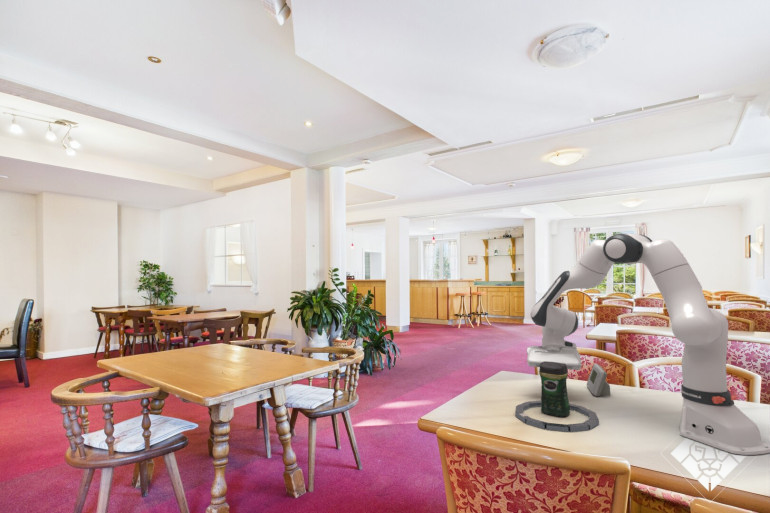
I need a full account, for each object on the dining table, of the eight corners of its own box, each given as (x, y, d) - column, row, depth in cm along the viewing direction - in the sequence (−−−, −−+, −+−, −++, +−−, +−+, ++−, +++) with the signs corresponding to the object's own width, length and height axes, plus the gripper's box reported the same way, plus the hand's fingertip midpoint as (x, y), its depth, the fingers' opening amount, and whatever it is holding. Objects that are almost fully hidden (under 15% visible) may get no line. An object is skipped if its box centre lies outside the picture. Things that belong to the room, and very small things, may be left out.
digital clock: (586, 386, 179) (585, 362, 180) (609, 388, 175) (608, 364, 176) (585, 396, 165) (584, 370, 166) (610, 399, 161) (609, 372, 161)
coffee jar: (572, 413, 146) (570, 361, 147) (565, 419, 140) (563, 365, 141) (546, 407, 153) (543, 358, 154) (538, 413, 147) (535, 362, 148)
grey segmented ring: (616, 427, 132) (616, 422, 132) (541, 435, 127) (541, 429, 127) (566, 402, 158) (566, 397, 158) (502, 407, 154) (502, 403, 154)
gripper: (526, 341, 169) (525, 370, 160) (580, 344, 161) (582, 374, 151) (527, 350, 173) (526, 378, 163) (579, 352, 165) (582, 383, 155)
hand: (553, 376), depth 157 cm, fingers closed
